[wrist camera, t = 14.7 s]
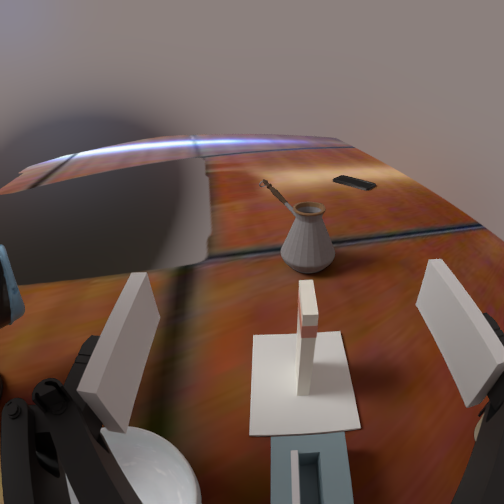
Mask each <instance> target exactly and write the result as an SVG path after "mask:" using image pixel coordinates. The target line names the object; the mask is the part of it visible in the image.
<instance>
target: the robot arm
mask: <svg viewBox="0 0 504 504" xmlns="http://www.w3.org/2000/svg"><path fill="white" fill-rule="evenodd" d="M416 306H417V307H418V309H419V311H420V313H421V315H422V316H423V318H424V320H425V322H426V324H427V326H428V328H429V330H430V332H431V333H432V335H433V337H434V339H435V341H436V343H437V345H438V347H439V349H440V351H441V353H442V355H443V357H444V359H445V361H446V363H447V365H448V368H449V370H450V372H451V374H452V376H453V378H454V380H455V383H456V385H457V387H458V389H459V392H460V394H461V396H462V398H463V401H464V403H465V405H466V408H468V407H471V406H474V405H477V404H480V403H481V402H482V401H483V399H484V398H485V397H486V395H487V396H488V398H489V402H488V403H487V404H486V405H485V407H484V408H483V409H482V410H481V411H480V413H479V415H478V416H479V417H480V416H481V415H482V414H483V413H484V416H483V419H482V423H481V426H480V430H479V433H478V436H477V439H476V442H475V445H474V448H473V451H472V454H471V457H470V460H469V462H468V465H467V468H466V470H465V473H464V475H463V478H462V480H461V482H460V485H459V487H458V489H457V492H456V494H455V496H454V498H453V500H452V503H451V504H504V333H503V332H502V330H500V327H499V326H498V324H497V323H496V321H495V320H494V319H493V318H492V317H491V316H489V315H488V314H487V313H481V311H480V310H479V308H478V307H477V306H476V304H475V303H474V301H473V300H472V299H471V297H470V296H469V294H468V293H467V292H466V290H465V289H464V288H463V286H462V285H461V284H460V282H459V281H458V280H457V278H456V277H455V276H454V274H453V273H452V272H451V271H450V269H449V268H448V267H447V265H446V264H445V263H444V262H443V260H442V259H432V260H429V261H428V264H427V268H426V272H425V275H424V279H423V283H422V286H421V289H420V293H419V296H418V299H417V302H416ZM24 312H25V306H24V303H23V300H22V297H21V295H20V292H19V289H18V287H17V284H16V281H15V278H14V275H13V272H12V269H11V266H10V262H9V259H8V256H7V253H6V250H5V247H4V246H3V245H0V329H1V328H3V327H5V326H6V325H11V324H12V323H13V322H14V321H15V320H17V319H18V318H20V317H22V316H23V314H24ZM159 319H160V316H159V312H158V309H157V306H156V302H155V299H154V296H153V292H152V289H151V285H150V282H149V278H148V275H147V272H143V273H131V275H130V277H129V279H128V281H127V283H126V285H125V287H124V289H123V291H122V293H121V295H120V297H119V299H118V301H117V303H116V305H115V307H114V309H113V311H112V313H111V315H110V317H109V319H108V321H107V323H106V325H105V327H104V329H103V331H102V334H101V336H93V335H91V336H90V337H89V338H88V339H87V340H86V341H85V342H84V343H83V345H82V347H81V349H80V351H79V353H78V356H77V357H76V359H75V363H74V364H73V366H72V368H71V370H70V372H69V375H68V377H67V379H66V381H65V383H64V386H63V385H62V383H61V382H60V381H59V380H57V379H55V378H48V379H45V380H42V381H41V382H40V383H38V384H37V386H36V387H35V388H34V390H33V393H32V400H33V402H34V403H35V404H36V405H28V404H27V403H26V402H25V401H24V400H23V399H21V398H14V399H11V400H9V401H8V402H7V403H6V404H5V406H4V408H3V411H2V420H1V471H2V487H3V498H4V504H71V500H70V495H69V491H68V485H67V480H66V476H67V478H68V480H69V483H70V485H71V487H72V489H73V492H74V494H75V496H76V498H77V500H78V502H79V504H143V503H142V502H141V500H140V499H139V497H138V496H137V494H136V492H135V491H134V489H133V488H132V486H131V484H130V483H129V481H128V480H127V478H126V476H125V475H124V473H123V471H122V470H121V468H120V466H119V464H118V463H117V461H116V459H115V457H114V455H113V454H112V452H111V450H110V448H109V446H108V444H107V442H106V440H105V438H104V436H103V435H102V433H101V432H100V430H101V427H102V424H103V425H104V426H105V428H106V429H107V430H108V431H111V432H117V433H123V434H126V432H127V428H128V424H129V421H130V417H131V413H132V409H133V406H134V402H135V399H136V395H137V392H138V388H139V385H140V381H141V378H142V374H143V371H144V367H145V364H146V361H147V358H148V354H149V351H150V348H151V345H152V341H153V338H154V335H155V332H156V329H157V326H158V323H159ZM2 388H3V384H2V379H1V376H0V399H1V395H2ZM65 473H66V474H65Z"/></svg>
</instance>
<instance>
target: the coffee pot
mask: <svg viewBox="0 0 504 504" xmlns="http://www.w3.org/2000/svg"><path fill="white" fill-rule="evenodd" d="M262 182H263V183H264V184H265V185H266V186H267V188H268V189H270V190H271V192H272V193H273V195H274V196H275V197H277V198H278V199H279V200H280V201H281V202H282V203H283V204H284V205H285V206H286V207H287V208H288V209H289V210H290V211H291V212H292V213H293V214H294V216H295V217H296V219H295V221H294V223H293V225H292V227H291V229H290V231H289V234H288V236H287V238H286V240H285V242H284V244H283V246H282V248H281V256H282V258H283V260H284V262H285V263H286V264H287V265H289V266H290V267H291V268H293V269H294V270H296V271H298V272H301V273H316V272H319V271H321V270H322V269H324V268H325V267H327V266H328V265H330V263H331V262H332V261H333V259H334V257H335V250H334V247H333V245H332V242H331V239H330V237H329V234H328V232H327V229H326V227H325V224H324V222H323V219H322V215H323V213H324V212H325V210H326V209H325V206H324V205H323V204H322V203H316V202H301V203H297V204H295V205H294V206H293V207H292V206H291V205H289V204H288V203H287V201H286V200H285V199H284V197H283V196H282V195H281V194H280V193H279V192H278V191H277V190H276V189H275V188H273V187H272V185H271V184H269V183H268V181H267V180H264V179H263V181H261V182H260V184H261V183H262ZM260 184H259V186H260ZM265 185H264V186H265ZM264 186H260V187H264Z"/></svg>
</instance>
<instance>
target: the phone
mask: <svg viewBox="0 0 504 504" xmlns="http://www.w3.org/2000/svg"><path fill="white" fill-rule="evenodd" d="M333 182H336V183H340V184H344V185H348V186H351V187H355V188H358V189H362V190H366V191H367V190H370V189H372V188H374V187H375V186H376V184H375V183H372V182H368V181H364V180H360V179H356V178H353V177H349V176H345V175H341V176H339V177H336V178H334V179H333Z"/></svg>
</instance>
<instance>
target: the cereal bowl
mask: <svg viewBox="0 0 504 504" xmlns="http://www.w3.org/2000/svg"><path fill="white" fill-rule="evenodd" d="M100 432H101V433H102V435H103V436H104V438H105V440H106V442H107V444H108V446H109V448H110V450H111V452H112V454H113V455H114V457H115V459H116V461H117V463H118V464H119V466H120V468H121V470H122V471H123V473H124V475H125V476H126V478H127V480H128V481H129V483H130V484H131V486H132V488H133V489H134V491H135V492H136V494H137V496H138V497H139V499H140V500H141V502H142V503H143V504H202V503H201V491H200V487H199V483H198V480H197V478H196V476H195V473H194V471H193V470H192V467H191V466H190V464H189V462H188V461H187V460H186V459H185V457H184V455H183V454H182V453H181V452H180V451H179V450H178V449H177V448H176V447H175V446H174V445H172V444H171V443H170V442H169V441H167V440H166V439H164V438H163V437H161V436H159V435H157V434H155V433H153V432H150V431H148V430H144V429H141V428H137V427H131V426H128V428H127V432H126V434H123V433H117V432H111V431H108V430H107V429H106V428H105V427H103V428H101V430H100ZM65 474H66V473H65ZM66 480H67V485H68V491H69V495H70V500H71V504H79V502H78V500H77V498H76V496H75V494H74V492H73V489H72V487H71V485H70V483H69V480H68V478H67V476H66Z"/></svg>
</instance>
